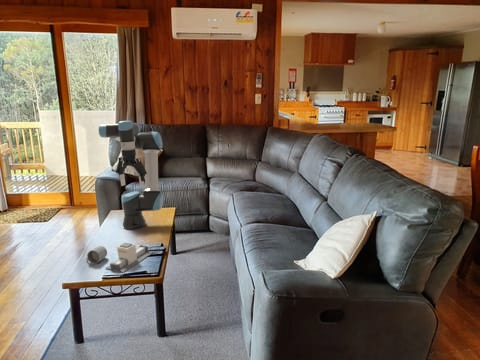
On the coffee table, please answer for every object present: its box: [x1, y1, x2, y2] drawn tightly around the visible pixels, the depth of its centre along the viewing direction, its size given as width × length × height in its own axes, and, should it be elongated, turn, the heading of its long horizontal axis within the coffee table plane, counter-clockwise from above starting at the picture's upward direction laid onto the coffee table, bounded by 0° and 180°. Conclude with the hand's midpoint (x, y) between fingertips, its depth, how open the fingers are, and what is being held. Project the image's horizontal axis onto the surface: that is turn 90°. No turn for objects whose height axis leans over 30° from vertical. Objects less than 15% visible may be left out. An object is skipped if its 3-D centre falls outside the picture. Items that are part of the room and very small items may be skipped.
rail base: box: [105, 244, 154, 273], centre depth 188 cm, size 24×12×4 cm, turn 156°
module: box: [116, 242, 137, 265], centre depth 185 cm, size 6×7×10 cm
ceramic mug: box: [85, 245, 108, 265], centre depth 189 cm, size 11×8×8 cm
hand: (132, 186), depth 197 cm, fingers open, 13 cm apart
